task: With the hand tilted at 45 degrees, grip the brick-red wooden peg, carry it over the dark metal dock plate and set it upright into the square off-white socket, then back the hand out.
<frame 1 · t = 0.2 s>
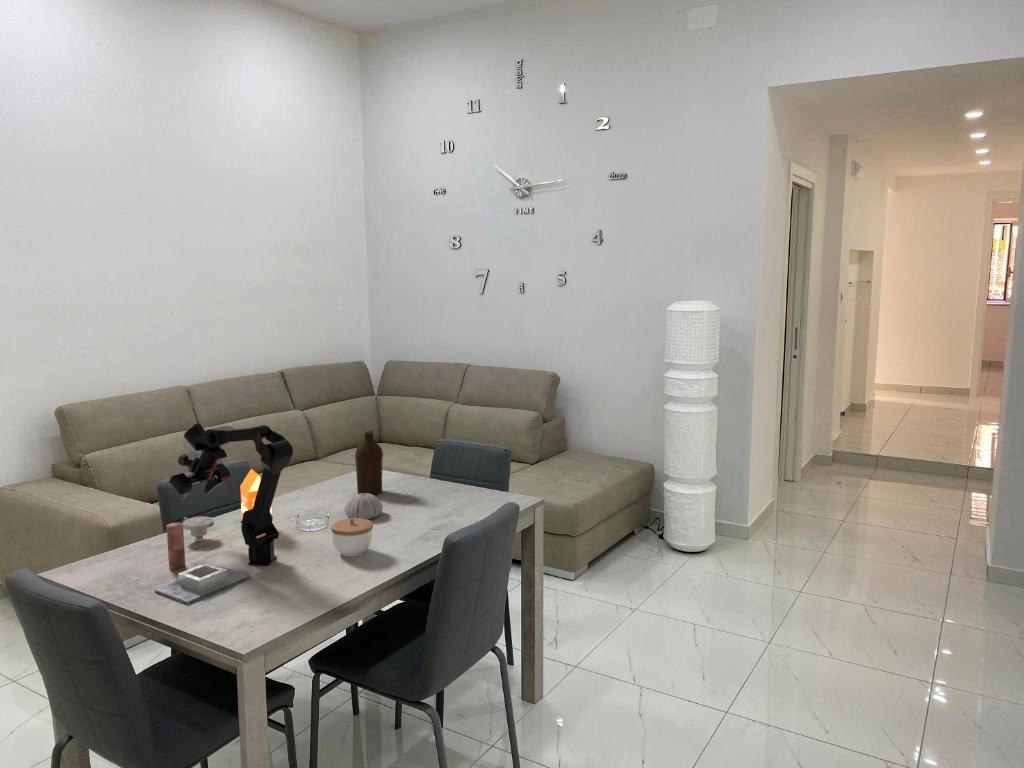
hand: (192, 496, 243), 15 cm above the table, tool tilted 35°, fingers open, 9 cm apart
lidded bowl: (352, 553, 238), on the table
showerhead: (198, 540, 247), on the table
peg: (177, 567, 225), on the table
olive oil: (370, 493, 299), on the table
dock: (203, 585, 213), on the table
sea urchin shell: (363, 516, 273), on the table
orange juice: (257, 530, 257), on the table
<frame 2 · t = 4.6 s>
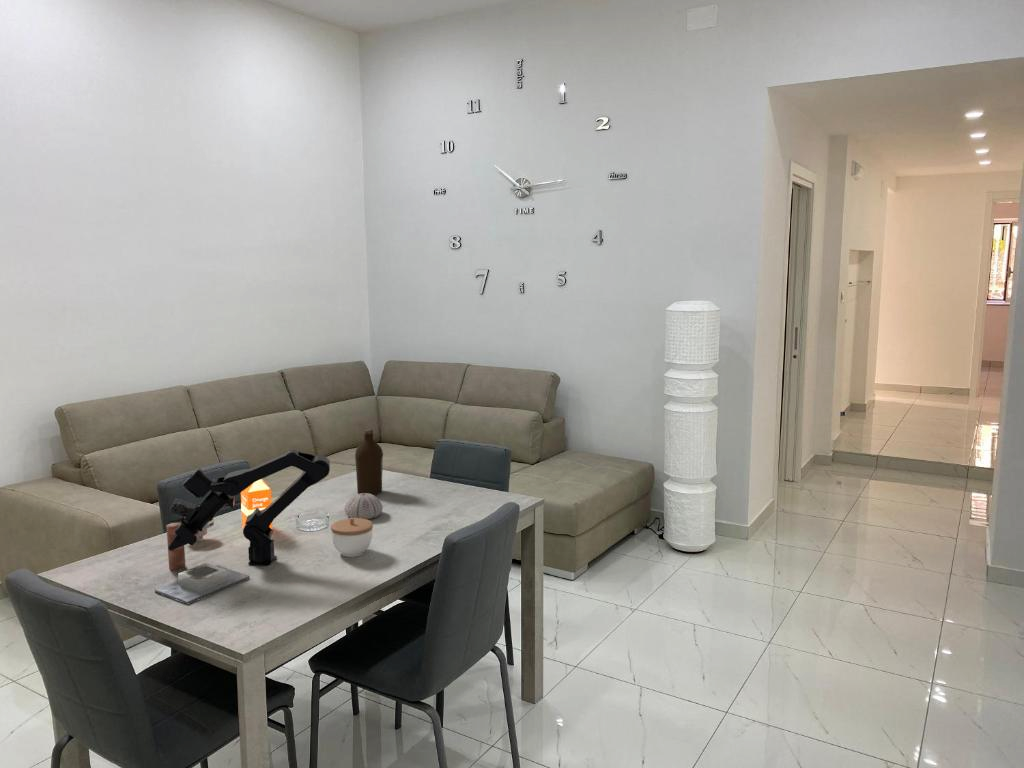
hand: (170, 546, 223), 7 cm above the table, tool tilted 45°, fingers closed on peg, 4 cm apart
peg: (177, 567, 225), on the table, touching gripper
everything else where it was.
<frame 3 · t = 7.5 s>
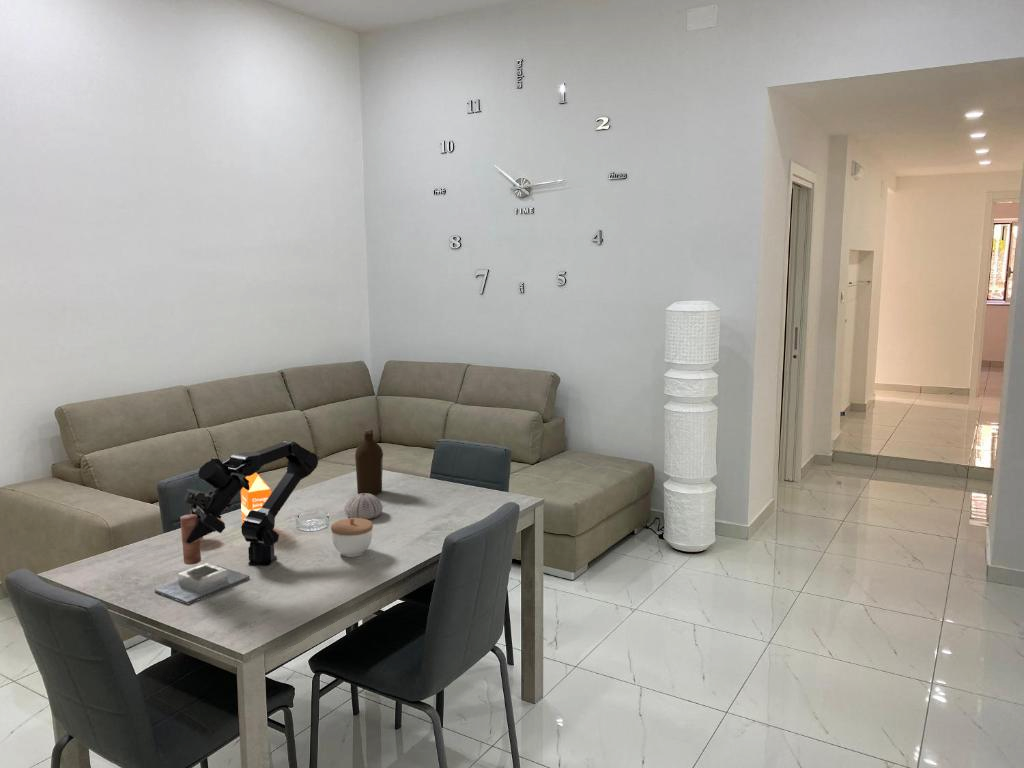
hand: (185, 539, 212), 13 cm above the table, tool tilted 45°, fingers closed on peg, 4 cm apart
peg: (192, 561, 214), point 6 cm above the table, touching gripper
everything else where it was.
when the fingers open (9 cm above the table, at t = 10.2 s): peg drops 2 cm, resting on dock.
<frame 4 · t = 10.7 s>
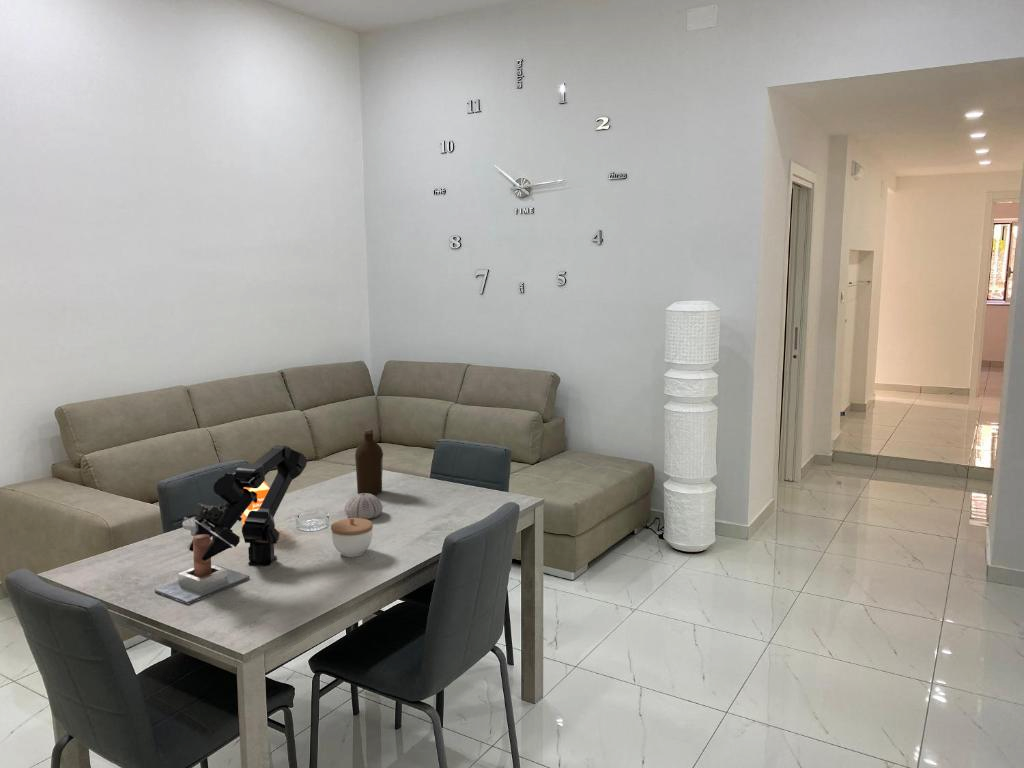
hand: (196, 555, 210), 9 cm above the table, tool tilted 45°, fingers open, 9 cm apart
peg: (203, 582, 213), point 1 cm above the table, touching dock
everything else where it was.
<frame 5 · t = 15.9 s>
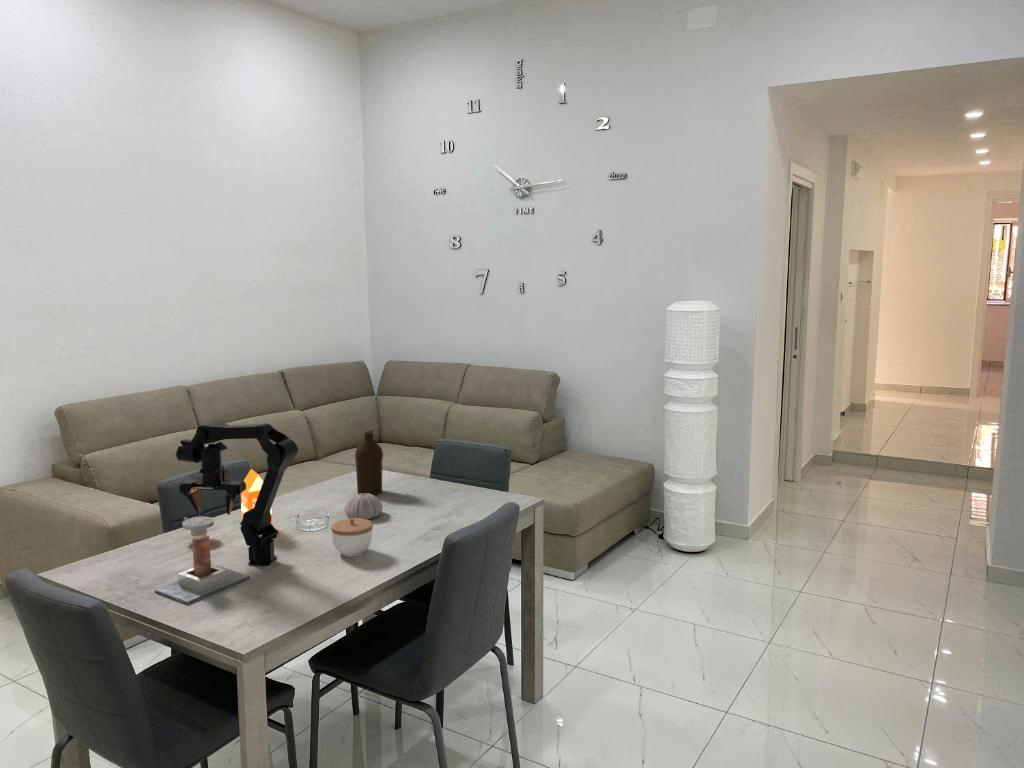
hand: (214, 514, 233), 13 cm above the table, tool pointing down, fingers open, 9 cm apart
nothing on the table moved.
at the end: peg 0.0 cm off-centre on the dock, point 0.8 cm above the dock's base; peg tilted 0°; the gripper is holding nothing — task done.
